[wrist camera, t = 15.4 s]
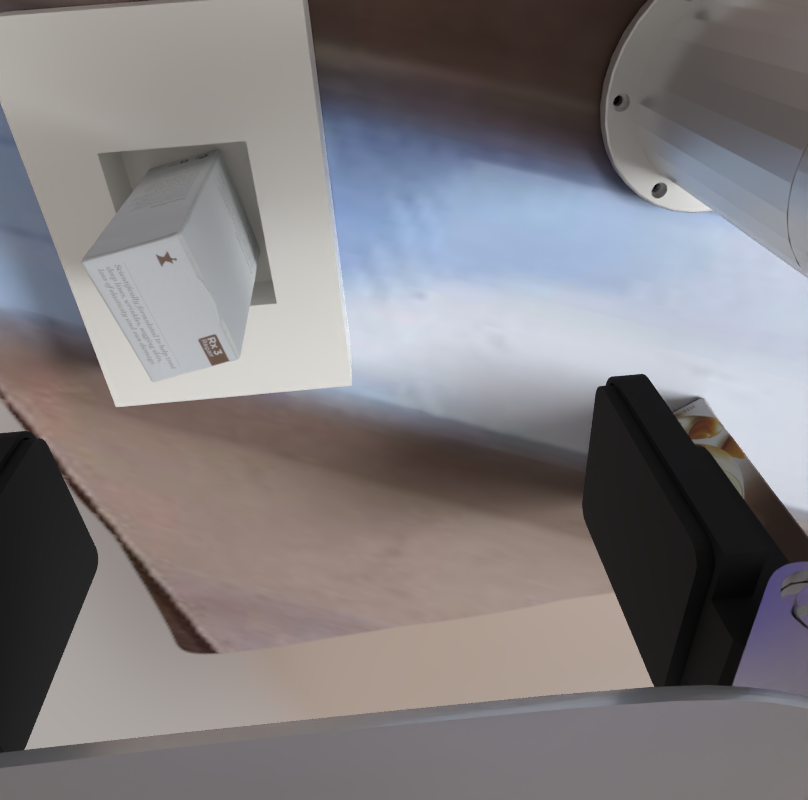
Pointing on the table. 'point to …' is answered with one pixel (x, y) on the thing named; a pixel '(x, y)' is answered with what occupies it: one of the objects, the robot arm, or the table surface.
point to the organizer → (178, 139)
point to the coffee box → (744, 478)
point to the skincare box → (179, 267)
